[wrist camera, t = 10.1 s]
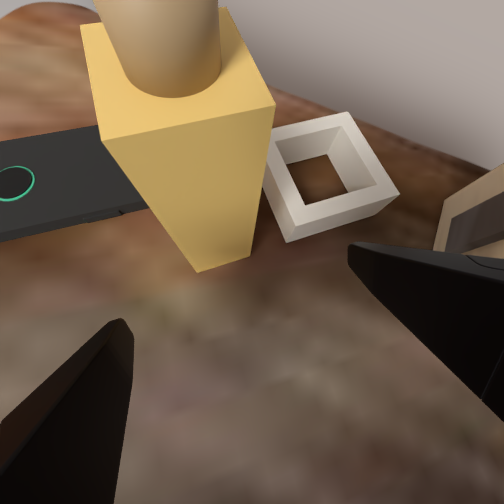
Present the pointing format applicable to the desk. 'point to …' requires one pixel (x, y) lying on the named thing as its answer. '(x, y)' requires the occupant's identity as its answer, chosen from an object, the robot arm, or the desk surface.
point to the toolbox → (474, 218)
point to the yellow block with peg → (183, 118)
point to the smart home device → (60, 183)
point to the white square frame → (345, 163)
